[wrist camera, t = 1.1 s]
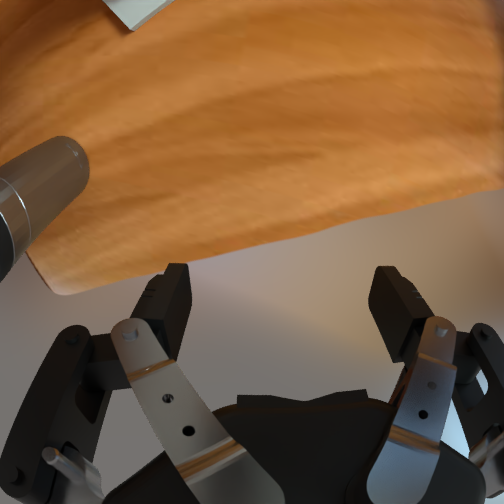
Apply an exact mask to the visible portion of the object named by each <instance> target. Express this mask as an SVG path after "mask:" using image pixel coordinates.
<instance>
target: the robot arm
mask: <svg viewBox="0 0 504 504" xmlns="http://www.w3.org/2000/svg"><path fill="white" fill-rule="evenodd" d="M88 178H89V163H88V159H87V156H86V154H85V152H84V150H83V149H82V147H81V146H80V145H79V144H78V143H77V142H76V141H75V140H73V139H71V138H69V137H65V136H57V137H54V138H51V139H49V140H47V141H45V142H43V143H41V144H40V145H37V146H35V147H34V148H32V149H30V150H28V151H26V152H24V153H23V154H21V155H19V156H17V157H16V158H14V159H12V160H10V161H9V162H7V163H5V164H4V165H2V166H1V167H0V282H1V281H2V280H3V279H4V278H5V276H6V275H7V273H8V272H9V271H10V270H11V268H12V267H13V266H14V264H15V263H16V262H17V261H18V259H19V258H20V257H21V256H22V255H23V253H24V252H25V251H26V250H27V248H28V247H29V246H30V245H31V244H32V243H33V242H34V240H35V239H36V238H37V237H38V236H39V235H40V234H41V233H42V232H43V230H44V229H45V228H46V227H47V226H48V225H49V224H50V223H51V222H52V221H53V220H54V219H55V218H56V217H57V216H58V215H59V214H60V213H61V212H62V211H63V210H64V209H65V208H66V207H67V206H68V205H69V204H70V203H71V202H72V201H73V200H74V199H75V198H76V197H77V196H78V195H79V194H80V193H81V192H82V191H83V190H84V189H85V187H86V185H87V182H88ZM368 304H369V309H370V311H371V314H372V316H373V318H374V320H375V322H376V324H377V327H378V329H379V331H380V333H381V335H382V338H383V340H384V343H385V345H386V347H387V350H388V352H389V354H390V357H391V359H392V362H393V363H398V362H404V363H405V366H404V368H403V369H402V371H401V374H400V376H399V379H398V381H397V384H396V386H395V388H394V391H393V393H392V395H391V398H390V400H389V402H388V403H386V402H384V401H381V400H378V399H373V398H368V395H367V391H366V389H362V390H353V391H343V392H336V393H333V394H329V395H326V396H323V397H320V398H316V399H313V400H309V401H299V400H293V399H287V398H281V397H277V396H272V395H237V404H233V405H229V406H225V407H222V408H220V409H217V410H215V411H213V412H211V411H210V409H209V408H208V407H207V406H206V404H205V403H204V402H203V400H202V399H201V397H200V396H199V395H198V393H197V392H196V391H195V389H194V388H193V386H192V385H191V383H190V382H189V381H188V379H187V378H186V376H185V375H184V373H183V372H182V370H181V369H180V368H179V366H178V365H177V363H176V361H177V357H178V354H179V350H180V346H181V342H182V339H183V335H184V332H185V328H186V325H187V321H188V318H189V314H190V311H191V306H192V292H191V284H190V277H189V269H188V265H187V264H186V263H169V264H168V266H167V268H166V270H165V272H164V274H163V275H159V274H157V275H156V276H155V277H153V278H152V279H151V280H150V281H149V282H148V284H147V286H146V288H145V291H143V293H142V295H141V297H140V299H139V301H138V303H137V304H136V306H135V308H134V310H133V312H132V314H131V316H130V318H129V319H125V320H122V321H120V322H119V323H117V324H116V325H115V326H114V327H113V329H112V330H111V333H108V334H100V335H93V336H91V335H90V333H89V331H88V329H87V328H86V327H84V326H81V325H73V326H69V327H67V328H65V329H64V330H62V331H61V332H60V333H59V334H58V336H57V337H56V339H55V341H54V343H53V344H52V346H51V348H50V350H49V351H48V353H47V355H46V357H45V359H44V361H43V363H42V364H41V366H40V368H39V370H38V372H37V374H36V376H35V378H34V380H33V382H32V384H31V386H30V388H29V390H28V392H27V394H26V396H25V398H24V400H23V403H22V405H21V407H20V409H19V412H18V414H17V416H16V418H15V421H14V423H13V426H12V428H11V431H10V433H9V436H8V438H7V441H6V444H5V446H4V449H3V452H2V455H1V458H0V487H1V488H2V490H3V491H4V492H5V493H6V494H7V495H9V496H11V497H12V498H14V499H16V500H18V501H20V502H22V503H23V504H484V502H485V498H494V497H496V496H498V495H500V494H501V493H503V492H504V344H503V342H502V341H501V339H500V337H499V336H498V334H497V333H496V331H495V330H494V329H493V328H492V327H490V326H489V325H486V324H483V323H477V324H475V325H474V326H473V327H472V329H471V331H470V333H467V332H459V331H456V328H455V326H454V325H453V324H452V323H451V322H450V321H449V320H447V319H445V318H443V317H439V316H435V315H434V314H433V312H432V311H431V309H430V308H429V306H428V305H427V303H426V302H425V300H424V299H423V298H422V296H421V295H420V293H419V292H418V290H417V289H416V287H415V286H414V285H413V283H411V282H410V281H409V280H407V279H406V278H405V277H402V276H401V274H400V273H399V272H398V270H397V269H396V267H394V266H378V267H377V268H376V270H375V274H374V278H373V282H372V286H371V290H370V293H369V298H368ZM480 370H482V372H483V373H484V375H485V377H486V379H487V382H488V390H487V393H486V394H485V395H484V393H483V391H482V389H481V387H480V385H479V383H478V380H477V379H476V375H477V374H478V373H479V371H480ZM127 388H132V389H133V391H134V393H135V396H136V397H137V400H138V402H139V404H140V405H141V408H142V410H143V412H144V414H145V415H146V417H147V419H148V421H149V423H150V425H151V427H152V428H153V430H154V432H155V434H156V436H157V437H158V439H159V441H160V443H161V444H162V446H163V448H164V449H165V450H164V451H163V452H162V453H161V454H159V455H158V456H157V457H156V458H154V459H153V460H152V461H151V462H149V463H148V464H147V465H146V466H144V467H143V468H142V469H140V470H139V471H138V472H136V473H135V474H134V475H132V476H131V477H130V478H128V479H127V480H126V481H124V482H123V483H122V484H120V485H119V486H118V487H117V488H115V489H113V490H112V491H111V492H110V493H109V494H108V495H107V496H106V497H104V495H103V493H102V489H101V476H100V473H99V471H98V469H97V468H96V467H95V466H94V465H93V464H92V462H93V458H94V454H95V450H96V446H97V443H98V439H99V435H100V431H101V427H102V424H103V421H104V417H105V414H106V410H107V407H108V404H109V400H110V397H111V394H112V391H113V390H117V389H127ZM451 398H452V400H453V403H454V406H455V408H456V411H457V414H458V417H459V419H460V422H461V425H462V428H463V431H464V434H465V437H466V440H467V443H468V447H469V450H470V452H469V457H468V458H469V459H467V458H466V457H464V456H463V455H461V454H460V453H458V452H457V451H456V450H454V449H453V448H451V447H450V446H449V445H447V444H446V443H444V442H443V441H441V440H440V439H441V436H442V433H443V429H444V425H445V422H446V418H447V414H448V410H449V406H450V401H451Z"/></svg>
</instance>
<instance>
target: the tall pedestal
mask: <svg viewBox="0 0 504 504" xmlns="http://www.w3.org/2000/svg"><path fill="white" fill-rule="evenodd" d="M103 1H104V2H105V3H106V4H107V5H108V7H109V8H110V9H111V10H112V11H113V12H114V13H115V14H116V15H117V16H118V17H119V18H120V19H121V20H122V21H123V22H124V24H125V25H126V26H127V27H128V28H129V29H130V30H132V31H135V30H137V29H138V28H139V27H140V26H141V25H143V24H144V23H145V22H146V21H148V20H149V19H150V18H151V17H153V16H154V15H155V14H157V13H158V12H159V11H161V10H162V9H163V8H165V7H166V6H167V5H169V4H170V3H172V2H173V1H175V0H103Z"/></svg>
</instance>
